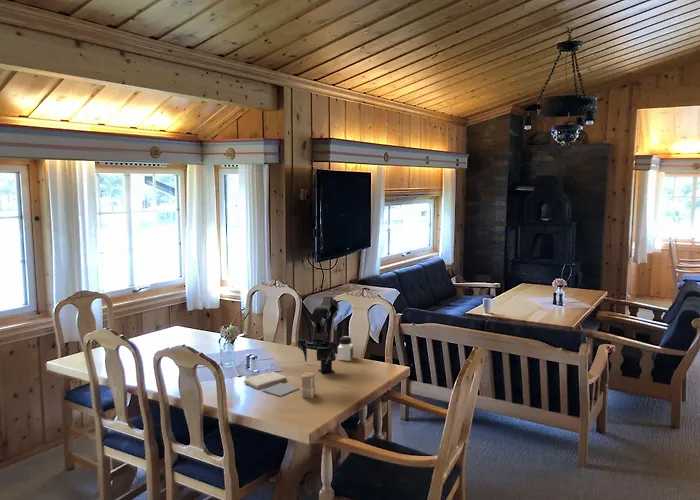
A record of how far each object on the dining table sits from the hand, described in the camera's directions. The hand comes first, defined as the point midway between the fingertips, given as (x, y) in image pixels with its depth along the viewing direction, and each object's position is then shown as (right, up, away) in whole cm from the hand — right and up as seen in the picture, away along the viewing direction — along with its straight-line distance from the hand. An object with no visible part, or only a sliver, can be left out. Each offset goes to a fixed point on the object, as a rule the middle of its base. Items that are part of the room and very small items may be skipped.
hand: (315, 362), depth 274 cm
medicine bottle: (+14, -7, +47) cm, 49 cm away
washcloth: (-25, -12, +12) cm, 30 cm away
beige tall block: (-3, -14, -7) cm, 16 cm away
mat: (-16, -13, 0) cm, 21 cm away
